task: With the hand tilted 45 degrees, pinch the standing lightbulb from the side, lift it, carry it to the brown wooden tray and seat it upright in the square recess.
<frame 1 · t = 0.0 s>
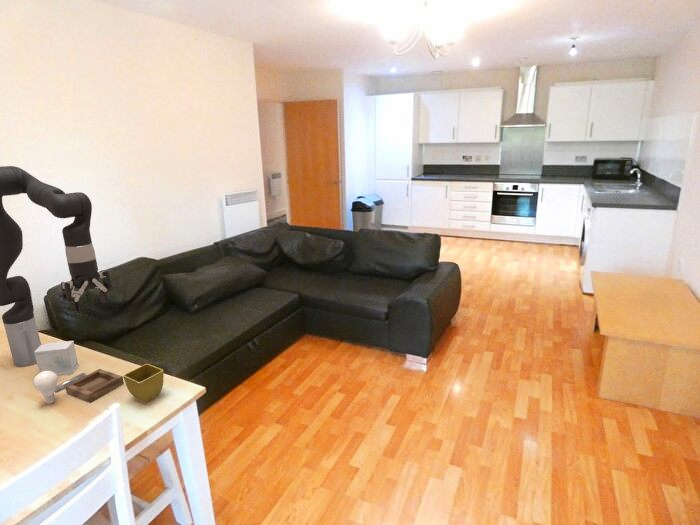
hand: (91, 307, 133), 29 cm above the table, tool pointing down, fingers open, 8 cm apart
lightbulb: (51, 403, 134), on the table
skincare box: (60, 372, 152), on the table
brown wooden tray: (95, 389, 141), on the table
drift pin: (69, 384, 144), on the table
flower pot: (147, 397, 136), on the table
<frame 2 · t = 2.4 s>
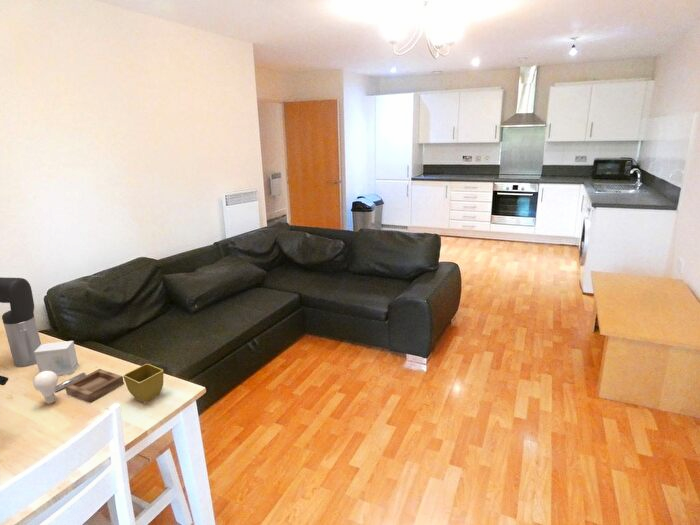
nothing on the table moved.
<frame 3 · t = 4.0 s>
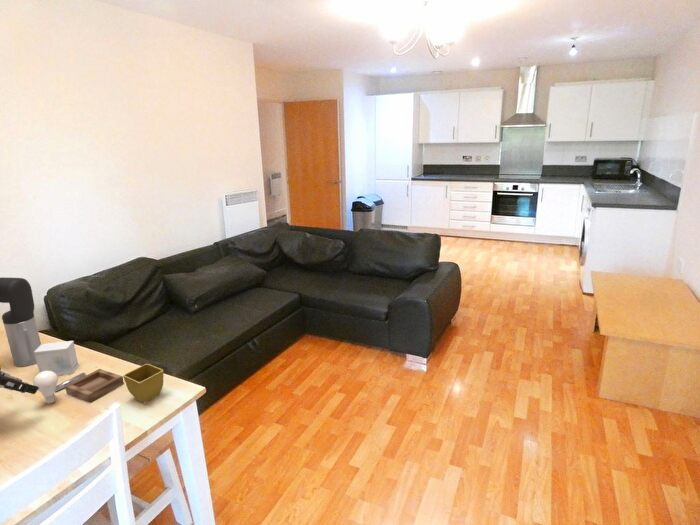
hand: (28, 386, 127), 9 cm above the table, tool tilted 45°, fingers open, 8 cm apart
nothing on the table moved.
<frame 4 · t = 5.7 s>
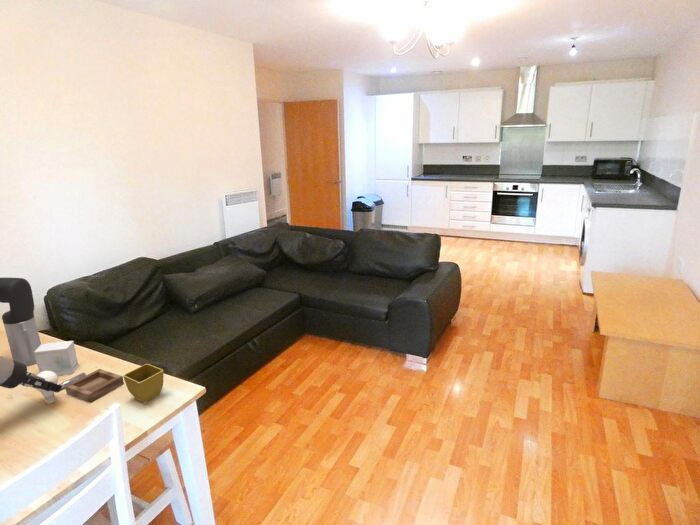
hand: (53, 386, 134), 5 cm above the table, tool tilted 45°, fingers closed on lightbulb, 6 cm apart
lightbulb: (51, 403, 134), on the table, touching gripper
everything else where it was.
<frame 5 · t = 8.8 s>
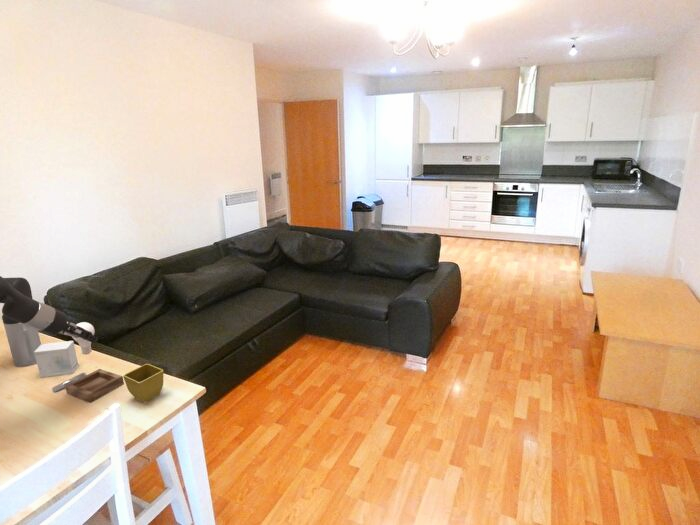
hand: (89, 338, 137), 18 cm above the table, tool tilted 45°, fingers closed on lightbulb, 6 cm apart
lightbulb: (87, 354, 137), point 13 cm above the table, touching gripper
everything else where it was.
when the fingers open (7 cm above the table, at t = 11.9 s): lightbulb drops 1 cm, resting on brown wooden tray.
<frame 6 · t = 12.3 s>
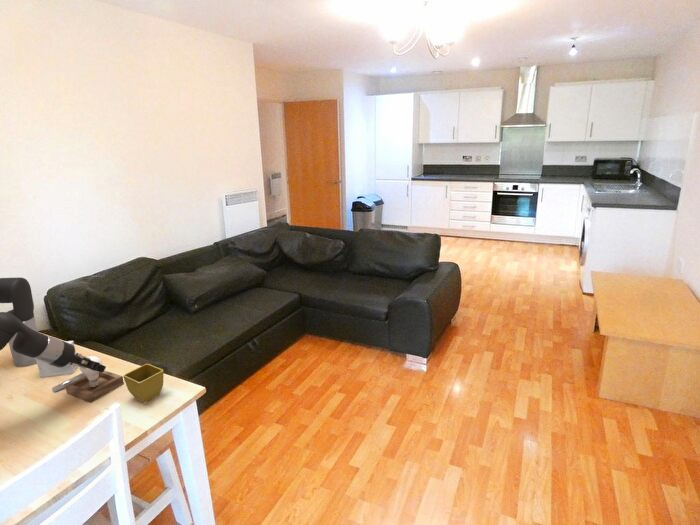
hand: (95, 366, 140), 8 cm above the table, tool tilted 45°, fingers open, 8 cm apart
lightbulb: (94, 387, 141), point 1 cm above the table, touching brown wooden tray
everything else where it was.
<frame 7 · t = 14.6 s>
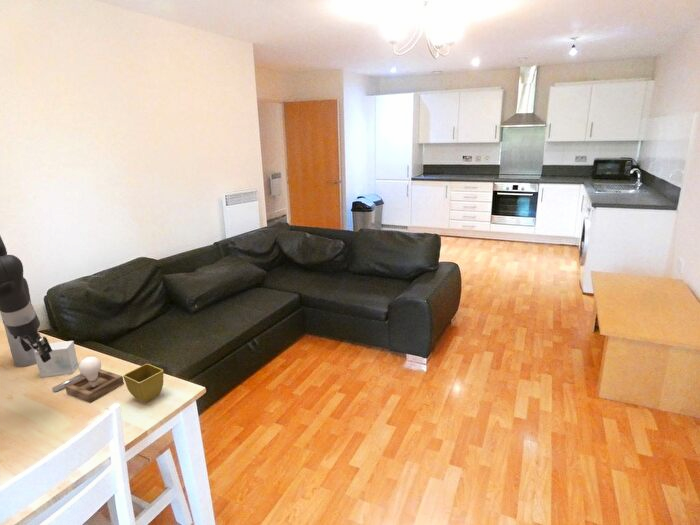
hand: (37, 354, 130), 16 cm above the table, tool tilted 20°, fingers open, 8 cm apart
nothing on the table moved.
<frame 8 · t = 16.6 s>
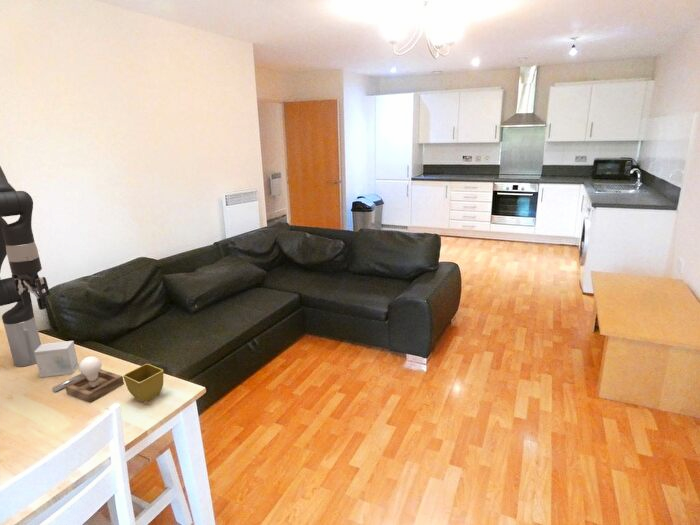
hand: (35, 306, 132), 30 cm above the table, tool pointing down, fingers open, 8 cm apart
nothing on the table moved.
at the end: lightbulb inside the target area on the brown wooden tray (0.2 cm from its centre), point 0.8 cm above the brown wooden tray's base; lightbulb tilted 1°; the gripper is holding nothing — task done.
